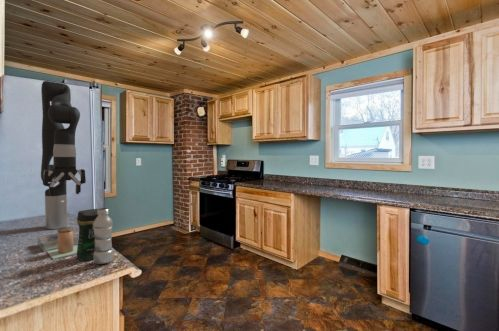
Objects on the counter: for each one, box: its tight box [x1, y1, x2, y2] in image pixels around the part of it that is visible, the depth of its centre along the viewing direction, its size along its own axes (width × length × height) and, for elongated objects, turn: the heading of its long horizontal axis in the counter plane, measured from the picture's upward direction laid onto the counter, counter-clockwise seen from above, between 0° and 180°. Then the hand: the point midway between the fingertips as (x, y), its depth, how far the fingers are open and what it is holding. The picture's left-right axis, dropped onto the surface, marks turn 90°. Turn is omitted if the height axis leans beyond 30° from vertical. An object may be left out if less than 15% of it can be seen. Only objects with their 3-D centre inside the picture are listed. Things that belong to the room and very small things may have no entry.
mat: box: [46, 245, 78, 260], centre depth 106 cm, size 10×10×1 cm
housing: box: [36, 232, 79, 253], centre depth 114 cm, size 12×12×4 cm
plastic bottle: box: [92, 207, 114, 265], centre depth 96 cm, size 6×7×20 cm
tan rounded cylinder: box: [56, 226, 74, 254], centre depth 106 cm, size 5×5×9 cm
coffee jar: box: [76, 207, 101, 261], centre depth 102 cm, size 10×8×19 cm
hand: (65, 194), depth 108 cm, fingers open, 8 cm apart
